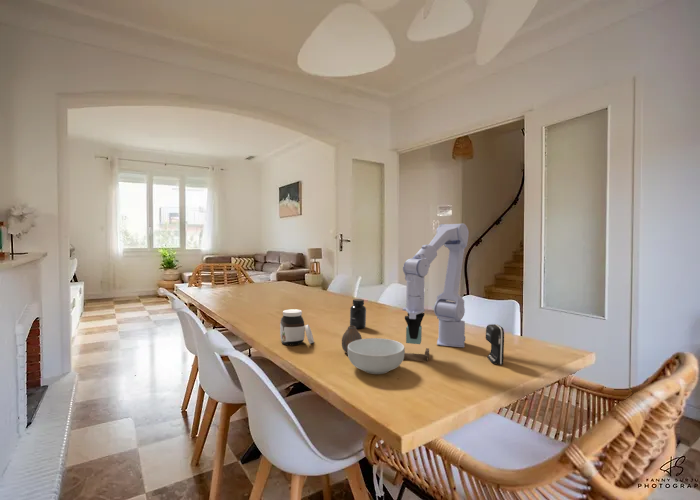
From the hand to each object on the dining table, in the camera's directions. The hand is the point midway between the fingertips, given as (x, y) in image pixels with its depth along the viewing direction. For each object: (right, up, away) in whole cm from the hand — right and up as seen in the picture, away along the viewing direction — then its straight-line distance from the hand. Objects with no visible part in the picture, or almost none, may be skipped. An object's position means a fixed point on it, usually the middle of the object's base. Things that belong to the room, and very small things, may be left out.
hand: (414, 336), depth 118 cm
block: (0, -2, 0) cm, 2 cm away
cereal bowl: (-14, -7, -13) cm, 20 cm away
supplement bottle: (-18, -5, +38) cm, 42 cm away
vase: (-21, -6, +3) cm, 22 cm away
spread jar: (-40, -6, +14) cm, 43 cm away
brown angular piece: (-4, -6, +1) cm, 7 cm away
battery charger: (+24, -7, -5) cm, 25 cm away
